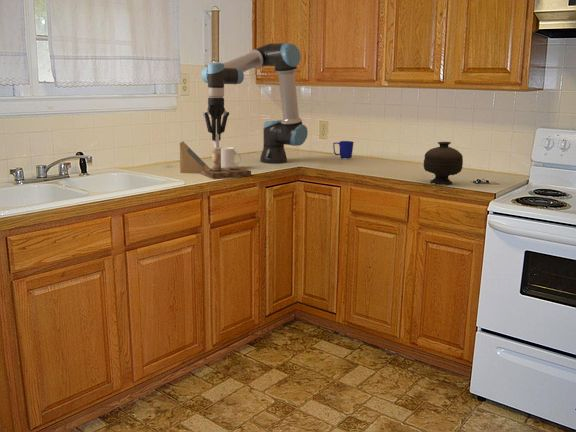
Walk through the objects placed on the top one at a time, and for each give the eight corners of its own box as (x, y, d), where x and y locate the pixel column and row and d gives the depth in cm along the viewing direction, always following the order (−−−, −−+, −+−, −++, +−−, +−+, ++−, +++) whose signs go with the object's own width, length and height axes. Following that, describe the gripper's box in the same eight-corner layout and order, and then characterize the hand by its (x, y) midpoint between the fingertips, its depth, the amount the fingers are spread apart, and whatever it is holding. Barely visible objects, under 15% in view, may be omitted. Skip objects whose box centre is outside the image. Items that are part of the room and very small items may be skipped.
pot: (415, 182, 267) (421, 139, 264) (427, 180, 282) (433, 139, 279) (453, 188, 258) (460, 143, 255) (463, 185, 273) (470, 143, 270)
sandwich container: (211, 174, 282) (211, 143, 278) (180, 173, 282) (179, 142, 278) (213, 171, 290) (213, 141, 287) (183, 170, 290) (182, 140, 287)
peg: (218, 174, 279) (218, 148, 276) (222, 176, 276) (222, 149, 272) (210, 175, 277) (210, 148, 274) (214, 176, 273) (214, 149, 270)
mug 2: (333, 156, 351) (333, 140, 349) (352, 157, 349) (353, 141, 347) (332, 158, 343) (332, 141, 341) (352, 159, 342) (353, 142, 339)
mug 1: (238, 170, 293) (238, 149, 290) (215, 169, 295) (215, 148, 292) (242, 168, 301) (242, 147, 299) (220, 166, 303) (220, 146, 300)
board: (238, 171, 290) (238, 166, 289) (250, 175, 278) (251, 170, 278) (201, 174, 279) (201, 169, 279) (213, 178, 268) (213, 173, 267)
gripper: (225, 96, 274) (225, 146, 279) (199, 96, 267) (200, 147, 273) (232, 97, 268) (232, 147, 273) (206, 97, 261) (206, 149, 267)
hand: (216, 147), depth 273 cm, fingers closed
